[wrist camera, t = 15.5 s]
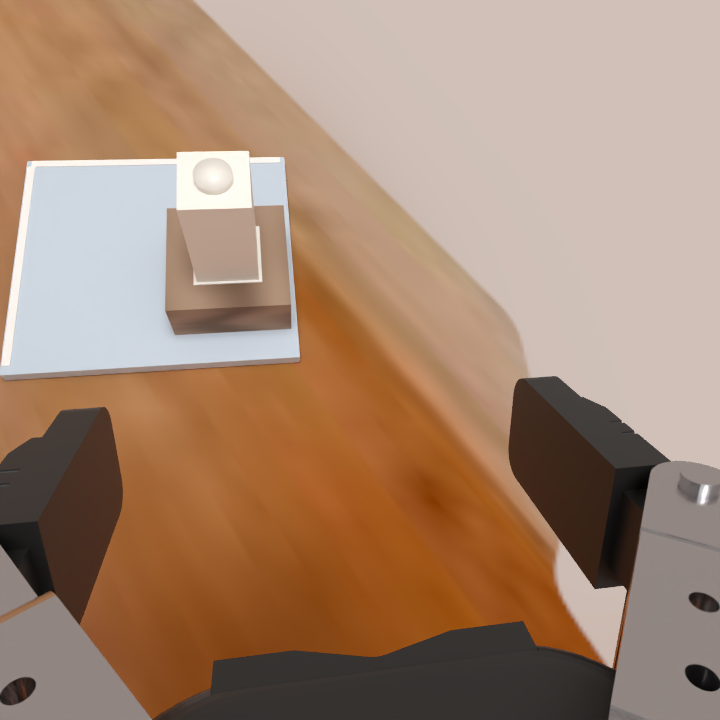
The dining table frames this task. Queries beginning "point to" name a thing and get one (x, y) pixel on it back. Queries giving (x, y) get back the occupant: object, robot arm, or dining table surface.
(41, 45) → the dining table surface
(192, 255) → the block
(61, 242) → the build board
